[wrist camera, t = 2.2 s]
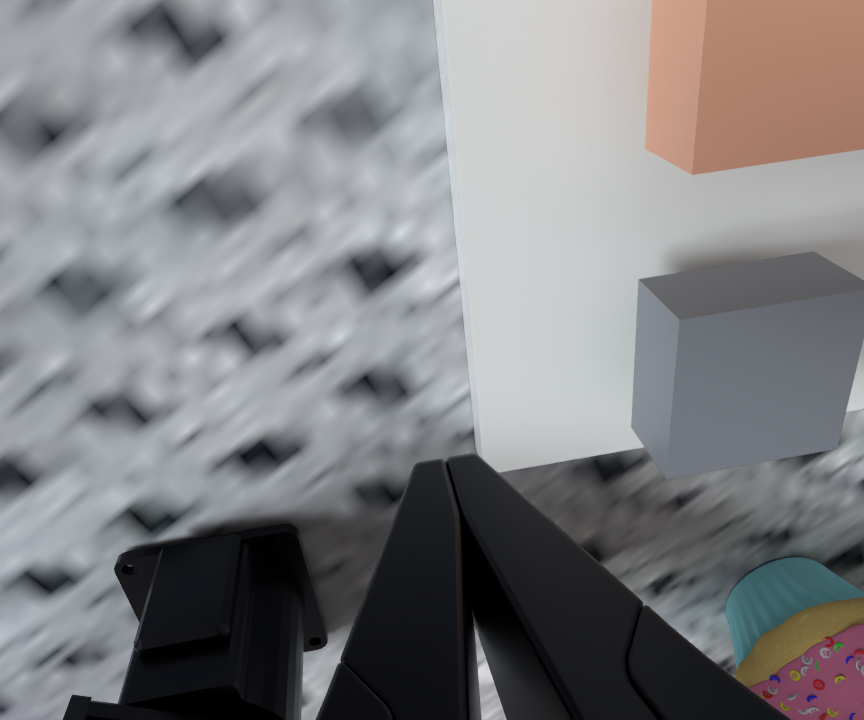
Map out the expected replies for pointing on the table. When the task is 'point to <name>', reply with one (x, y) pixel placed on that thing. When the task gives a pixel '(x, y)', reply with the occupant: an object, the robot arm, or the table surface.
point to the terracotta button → (754, 81)
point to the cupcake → (800, 639)
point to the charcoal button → (745, 362)
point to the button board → (592, 217)
